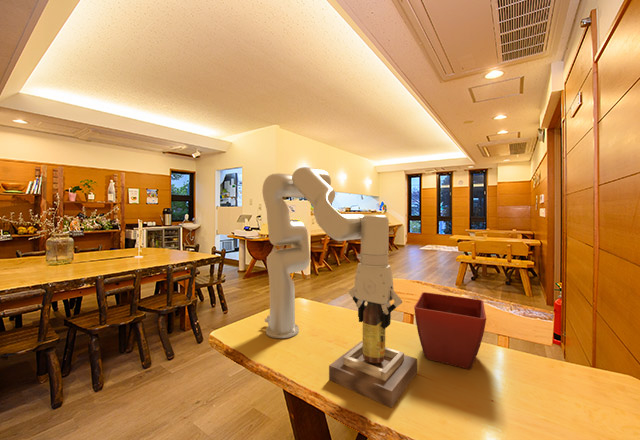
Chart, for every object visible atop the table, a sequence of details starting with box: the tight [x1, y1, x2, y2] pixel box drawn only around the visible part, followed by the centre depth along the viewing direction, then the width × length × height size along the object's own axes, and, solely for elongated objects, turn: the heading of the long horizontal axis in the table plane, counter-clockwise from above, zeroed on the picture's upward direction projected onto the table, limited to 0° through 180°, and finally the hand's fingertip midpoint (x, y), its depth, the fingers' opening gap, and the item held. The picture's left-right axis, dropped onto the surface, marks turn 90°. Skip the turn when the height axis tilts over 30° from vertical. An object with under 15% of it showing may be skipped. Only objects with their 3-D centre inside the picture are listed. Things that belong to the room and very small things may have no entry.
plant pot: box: [413, 291, 487, 370], centre depth 89 cm, size 19×19×17 cm
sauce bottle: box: [362, 301, 386, 364], centre depth 77 cm, size 7×6×20 cm
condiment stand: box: [328, 340, 418, 409], centre depth 78 cm, size 18×18×6 cm
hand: (373, 323), depth 77 cm, fingers open, 6 cm apart
